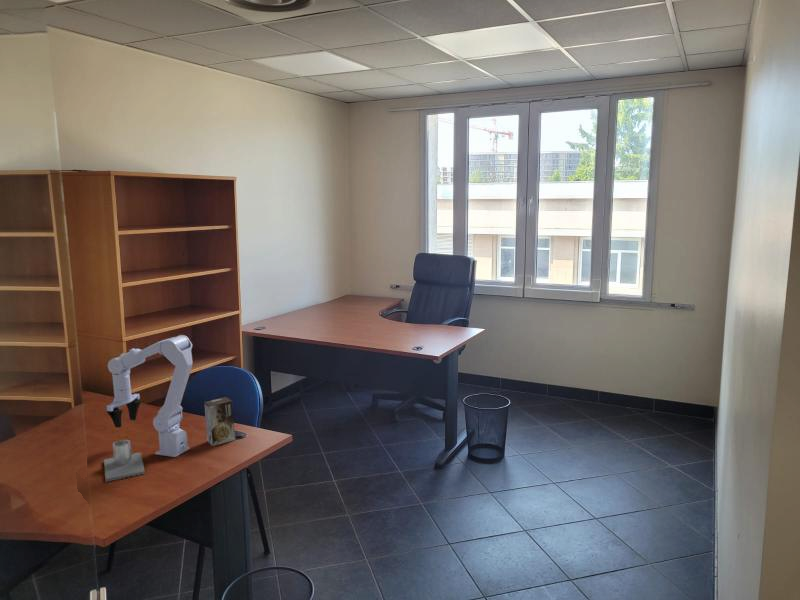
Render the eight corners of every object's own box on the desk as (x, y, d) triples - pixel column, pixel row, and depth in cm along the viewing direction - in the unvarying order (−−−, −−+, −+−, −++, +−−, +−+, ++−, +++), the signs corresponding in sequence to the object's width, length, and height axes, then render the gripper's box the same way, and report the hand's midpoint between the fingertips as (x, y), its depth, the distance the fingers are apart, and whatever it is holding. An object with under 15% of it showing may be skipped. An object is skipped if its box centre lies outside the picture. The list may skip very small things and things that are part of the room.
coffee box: (229, 435, 230) (226, 396, 228) (235, 440, 225) (232, 400, 223) (206, 441, 225) (203, 401, 222) (212, 446, 220) (209, 405, 217)
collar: (131, 457, 209) (130, 438, 208) (132, 463, 204) (130, 444, 203) (114, 460, 207) (112, 441, 206) (114, 466, 202) (112, 447, 201)
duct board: (140, 454, 214) (139, 444, 213) (145, 473, 198) (143, 462, 197) (104, 462, 208) (103, 451, 207) (105, 482, 192) (104, 470, 192)
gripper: (127, 382, 224) (131, 415, 226) (98, 393, 210) (102, 429, 213) (142, 383, 222) (146, 417, 224) (114, 395, 208) (117, 431, 211)
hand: (125, 423), depth 218 cm, fingers open, 7 cm apart
